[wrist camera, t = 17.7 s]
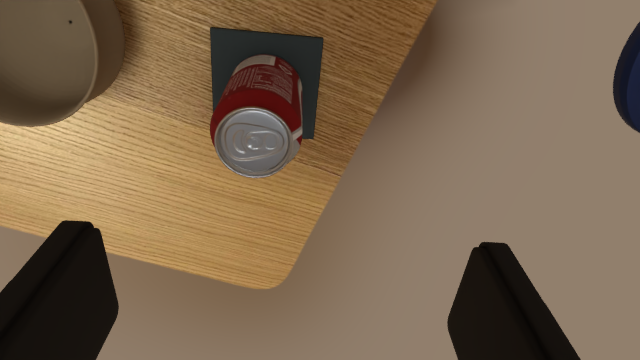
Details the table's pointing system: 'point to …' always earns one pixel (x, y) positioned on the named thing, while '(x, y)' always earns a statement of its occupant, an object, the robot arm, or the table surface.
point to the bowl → (56, 57)
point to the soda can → (259, 117)
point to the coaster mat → (294, 49)
